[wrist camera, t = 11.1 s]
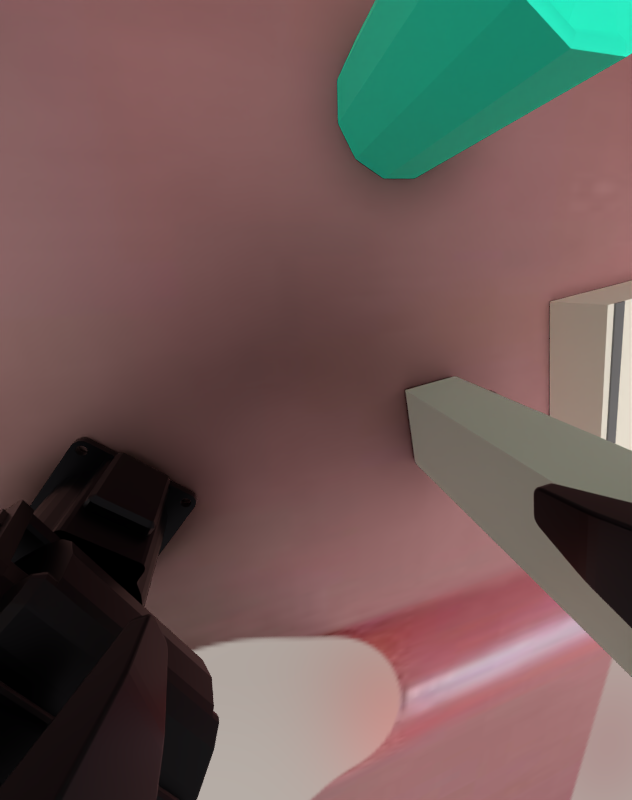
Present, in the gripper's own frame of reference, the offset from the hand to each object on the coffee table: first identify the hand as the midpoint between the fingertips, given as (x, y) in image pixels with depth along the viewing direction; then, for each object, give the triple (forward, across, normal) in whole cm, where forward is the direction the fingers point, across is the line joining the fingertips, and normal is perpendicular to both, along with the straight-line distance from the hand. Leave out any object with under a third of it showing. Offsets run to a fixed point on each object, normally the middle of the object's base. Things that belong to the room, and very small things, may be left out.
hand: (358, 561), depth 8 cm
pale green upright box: (+12, -8, +3) cm, 15 cm away
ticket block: (+12, -19, +3) cm, 23 cm away
